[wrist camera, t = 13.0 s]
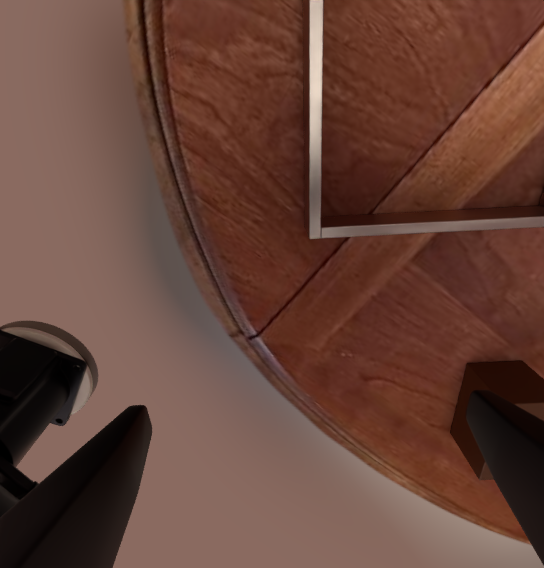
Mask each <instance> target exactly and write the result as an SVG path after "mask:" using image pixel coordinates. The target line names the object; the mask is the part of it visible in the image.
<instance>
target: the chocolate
mask: <svg viewBox="0 0 544 568" xmlns="http://www.w3.org/2000/svg"><path fill="white" fill-rule="evenodd" d="M482 389H487V390H490V391H492V392H494V393H496V394H498V395H499V396H501V397H503V398H505V399H506V400H508V401H510V402H512V403H513V404H515V405H517V406H519V407H520V408H522V409H524V410H526V411H527V412H529V413H531V414H533V415H534V416H536V417H538V418H540V419H541V420H543V421H544V379H543V378H542V377H541V376H539V375H538V374H537V373H536V372H535V371H534V370H532V369H531V368H530V367H529V366H528V365H527V364H526V363H524V362H523V361H507V362H486V363H468V364H467V367H466V371H465V375H464V379H463V383H462V387H461V391H460V395H459V399H458V403H457V407H456V411H455V415H454V419H453V423H452V427H451V431H450V433H451V435H452V437H453V438H454V440H455V441H456V443H457V445H458V446H459V448H460V450H461V451H462V453H463V454H464V456H465V458H466V459H467V461H468V462H469V464H470V466H471V467H472V469H473V470H474V472H475V474H476V475H477V477H478V478H479V480H491V479H494V478H493V476H492V474H491V472H490V470H489V468H488V466H487V464H486V462H485V460H484V457H483V455H482V453H481V451H480V449H479V446H478V444H477V442H476V440H475V438H474V436H473V433H472V431H471V429H470V427H469V425H468V423H467V420H466V416H465V412H466V408H467V404H468V400H469V396H470V393H471V392H472V391H473V390H482Z"/></svg>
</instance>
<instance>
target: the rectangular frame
mask: <svg viewBox="0 0 544 568" xmlns="http://www.w3.org/2000/svg"><path fill="white" fill-rule="evenodd" d="M323 26H324V0H303V110H304V227H305V229H306V232H307V234H308V237H309V239H320V238H338V237H358V236H377V235H397V234H417V233H437V232H456V231H476V230H496V229H516V228H535V227H544V190H543V194H542V197H541V200H540V204H539V206H521V207H502V208H482V209H463V210H443V211H424V212H404V213H385V214H365V215H346V216H326V217H321V174H322V100H323Z"/></svg>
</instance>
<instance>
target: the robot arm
mask: <svg viewBox="0 0 544 568" xmlns="http://www.w3.org/2000/svg"><path fill="white" fill-rule="evenodd" d="M78 366H79V367H78ZM86 369H87V364H86V362H85V361H84V360H82V359H79V358H76V357H74V356H71V355H68V354H65V353H63V352H60V351H57V350H54V349H52V348H49V347H46V346H43V345H41V344H38V343H35V342H33V341H30V340H27V339H24V338H22V337H19V336H16V335H13V334H11V333H8V332H5V331H2V330H0V568H113V564H114V561H115V559H116V556H117V553H118V550H119V547H120V544H121V541H122V538H123V535H124V532H125V529H126V527H127V524H128V521H129V518H130V515H131V512H132V509H133V506H134V503H135V500H136V497H137V494H138V490H139V486H140V482H141V478H142V474H143V470H144V465H145V461H146V457H147V453H148V449H149V444H150V440H151V436H152V425H151V421H150V418H149V414H148V411H147V408H146V406H144V405H135V406H134V405H133V406H130V407H128V408H127V409H125V410H124V411H123V412H122V413H121V414H120V415H118V416H117V417H116V418H115V419H114V420H113V421H111V422H110V423H109V424H108V425H107V426H106V427H105V428H103V429H102V430H101V431H100V432H99V433H98V434H96V435H95V436H94V437H93V438H92V439H91V440H90V441H88V442H87V443H86V444H85V445H84V446H82V447H81V448H80V449H79V450H78V451H77V452H75V453H74V454H73V455H72V456H71V457H70V458H69V459H67V460H66V461H65V462H64V463H63V464H62V465H60V466H59V467H58V468H57V469H56V470H55V471H53V472H52V473H51V474H50V475H49V476H48V477H46V478H45V479H44V480H43V481H42V482H41V483H40V484H38V483H37V482H36V481H35V482H33V481H32V480H30V479H29V478H28V477H27V476H26V475H24V474H23V473H22V472H21V471H19V470H18V469H17V468H16V466H17V465H18V464H19V462H20V461H21V460H22V458H23V457H24V455H25V454H26V453H27V452H28V451H29V449H30V448H31V447H32V445H33V444H34V443H35V441H36V440H37V439H38V438H39V436H40V435H41V434H42V432H43V431H44V430H45V428H46V427H47V426H48V425H49V423H52V424H55V425H59V426H63V425H65V424H66V422H67V421H68V419H69V417H70V415H71V412H72V409H73V406H74V403H75V400H76V397H77V395H78V392H79V389H80V386H81V383H82V380H83V377H84V374H85V372H86ZM465 416H466V420H467V423H468V425H469V427H470V429H471V431H472V433H473V436H474V438H475V440H476V442H477V444H478V446H479V449H480V451H481V453H482V455H483V457H484V460H485V462H486V464H487V466H488V468H489V470H490V472H491V474H492V476H493V478H494V480H495V482H496V484H497V485H498V487H499V489H500V491H501V492H502V494H503V496H504V498H505V499H506V501H507V503H508V504H509V506H510V508H511V510H512V511H513V513H514V515H515V517H516V518H517V520H518V522H519V524H520V525H521V527H522V529H523V530H524V532H525V534H526V536H527V537H528V539H529V541H530V543H531V544H532V546H533V548H534V549H535V551H536V553H537V555H538V556H539V558H540V560H541V561H542V563H543V565H544V421H543V420H541V419H540V418H538V417H536V416H534V415H533V414H531V413H529V412H527V411H526V410H524V409H522V408H520V407H519V406H517V405H515V404H513V403H512V402H510V401H508V400H506V399H505V398H503V397H501V396H499V395H498V394H496V393H494V392H492V391H490V390H487V389H482V390H473V391H472V392H471V393H470V396H469V400H468V404H467V408H466V412H465Z"/></svg>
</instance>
